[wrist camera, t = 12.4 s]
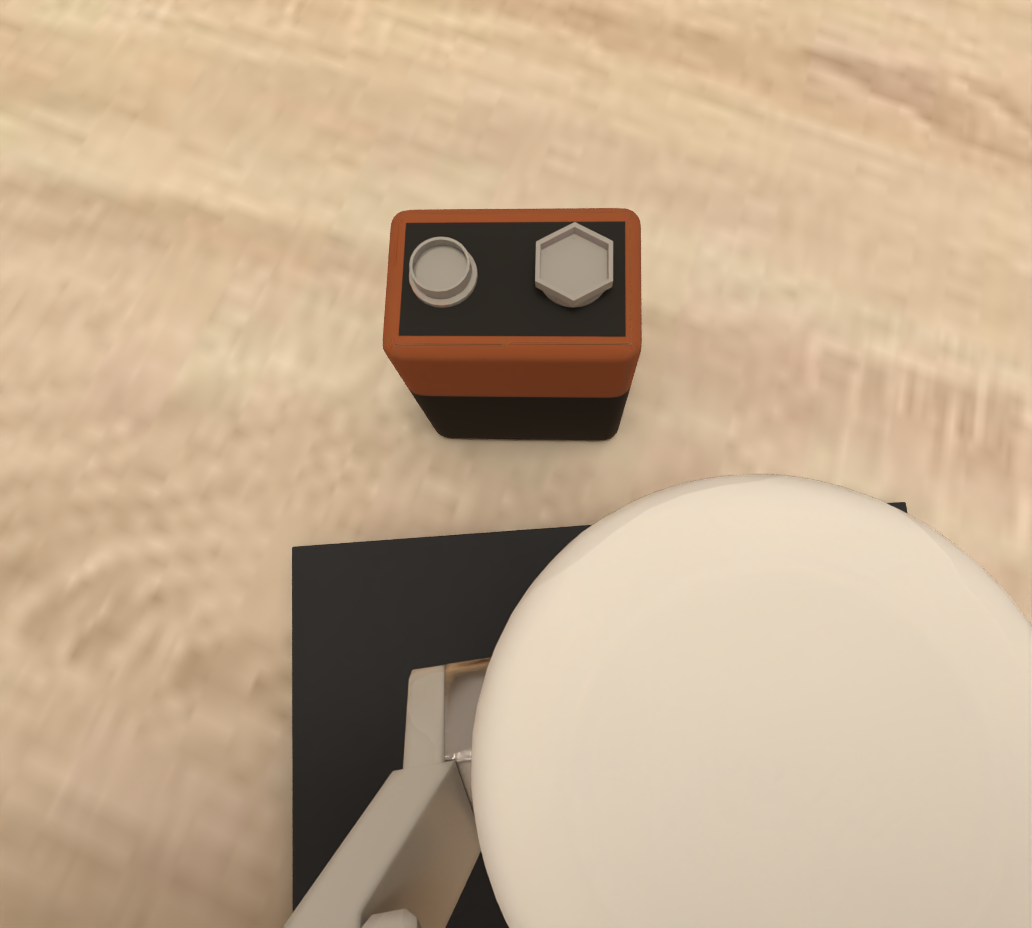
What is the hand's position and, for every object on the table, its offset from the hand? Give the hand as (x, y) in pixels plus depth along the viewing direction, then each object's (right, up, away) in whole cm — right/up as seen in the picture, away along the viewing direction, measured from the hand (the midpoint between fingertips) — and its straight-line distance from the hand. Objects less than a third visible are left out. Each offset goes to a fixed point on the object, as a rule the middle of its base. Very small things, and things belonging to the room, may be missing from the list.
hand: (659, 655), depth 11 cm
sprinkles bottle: (+1, -2, +8) cm, 8 cm away
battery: (-2, +6, +18) cm, 19 cm away
